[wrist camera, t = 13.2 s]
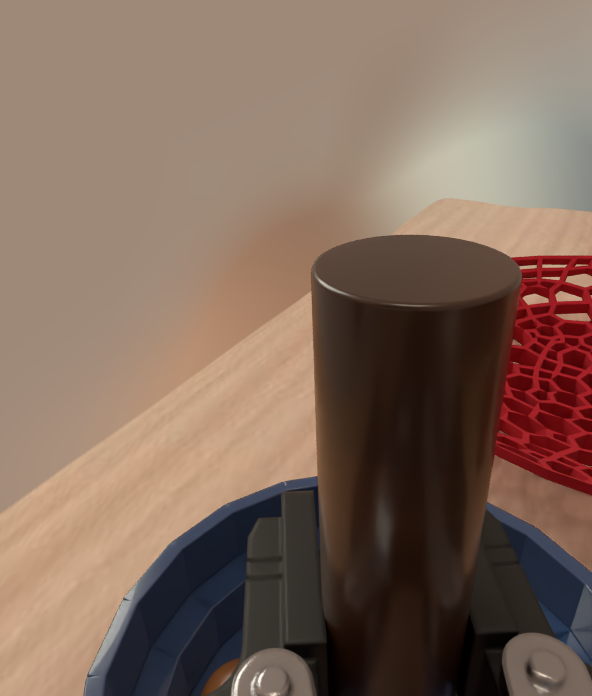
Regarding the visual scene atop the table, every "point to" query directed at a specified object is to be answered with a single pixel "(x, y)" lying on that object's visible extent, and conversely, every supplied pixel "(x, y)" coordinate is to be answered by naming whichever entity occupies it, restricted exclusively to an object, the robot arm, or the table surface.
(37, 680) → the table surface
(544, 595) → the blue bowl
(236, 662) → the hazelnut
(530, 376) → the bowl
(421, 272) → the capped post on base
